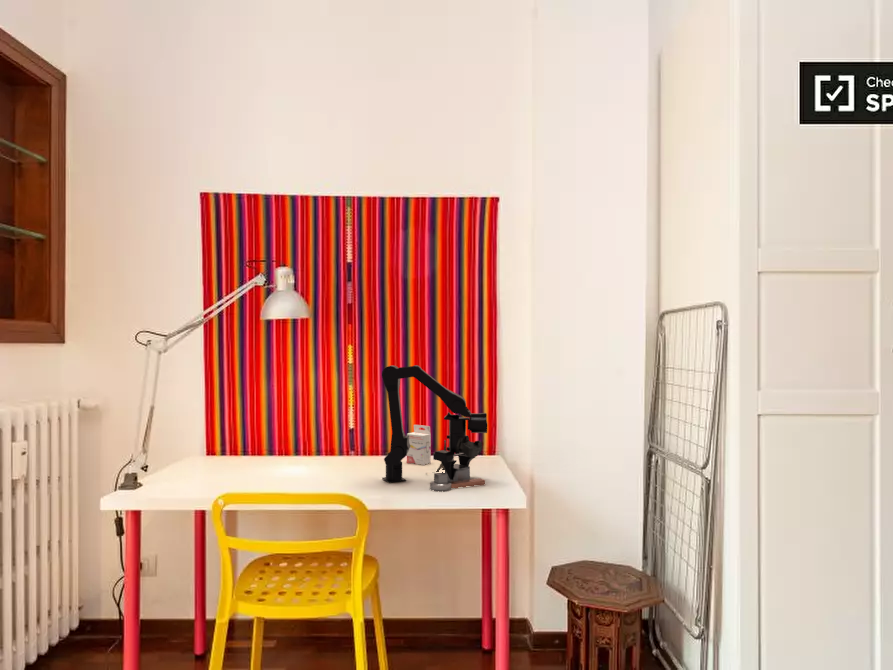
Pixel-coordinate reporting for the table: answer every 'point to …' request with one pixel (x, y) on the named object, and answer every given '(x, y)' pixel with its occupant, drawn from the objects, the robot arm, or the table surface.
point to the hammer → (451, 483)
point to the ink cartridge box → (419, 445)
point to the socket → (460, 473)
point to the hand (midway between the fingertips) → (457, 478)
